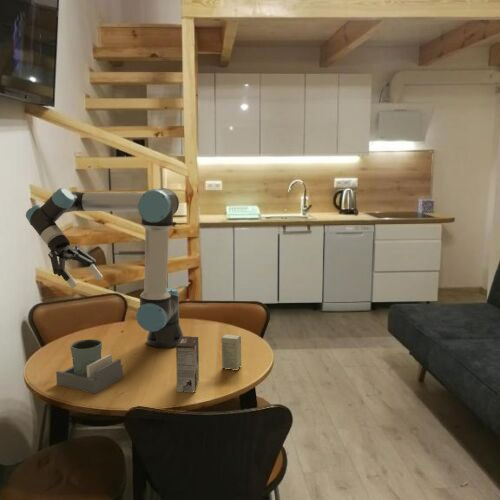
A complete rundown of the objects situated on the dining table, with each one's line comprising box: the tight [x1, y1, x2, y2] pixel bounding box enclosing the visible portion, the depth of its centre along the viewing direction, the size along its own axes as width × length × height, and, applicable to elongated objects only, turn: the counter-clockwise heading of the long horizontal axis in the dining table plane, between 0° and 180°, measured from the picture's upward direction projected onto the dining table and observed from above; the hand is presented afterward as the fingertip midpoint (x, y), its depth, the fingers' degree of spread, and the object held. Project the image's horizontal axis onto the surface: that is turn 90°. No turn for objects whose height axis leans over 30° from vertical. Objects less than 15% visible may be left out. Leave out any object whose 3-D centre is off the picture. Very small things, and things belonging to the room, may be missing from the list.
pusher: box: [87, 353, 113, 379], centre depth 163 cm, size 1×11×7 cm, turn 156°
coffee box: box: [175, 335, 200, 393], centre depth 161 cm, size 9×6×16 cm
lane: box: [55, 358, 124, 395], centre depth 165 cm, size 16×14×7 cm
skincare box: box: [221, 333, 242, 369], centre depth 177 cm, size 6×4×12 cm
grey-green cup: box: [70, 338, 103, 377], centre depth 165 cm, size 10×10×12 cm
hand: (88, 282), depth 181 cm, fingers open, 13 cm apart
